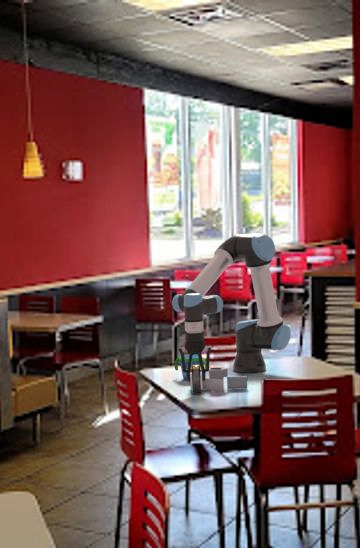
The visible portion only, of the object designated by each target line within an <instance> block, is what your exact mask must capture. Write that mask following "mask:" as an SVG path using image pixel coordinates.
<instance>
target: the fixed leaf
mask: <svg viewBox="0 0 360 548" xmlns="http://www.w3.org/2000/svg"><path fill="white" fill-rule="evenodd" d="M200 370H201V369H200ZM201 372H202V371H201ZM206 373H207V372H205V381H203V389H201V391H209V392H224V390H225V384H224V383H225V382H224V380H225V379H224V378H225V377H223V378H216V379H209V377H207V375H206Z"/></svg>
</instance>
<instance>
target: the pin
mask: <svg viewBox="0 0 360 548" xmlns="http://www.w3.org/2000/svg"><path fill="white" fill-rule="evenodd" d="M191 367H192V384H193V390H192V394H194V395H201V394H202V390H201V383H200V373H201V370H200V365H193V366H191Z"/></svg>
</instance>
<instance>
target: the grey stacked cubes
mask: <svg viewBox="0 0 360 548" xmlns="http://www.w3.org/2000/svg"><path fill="white" fill-rule="evenodd" d="M228 370H229V369H228V368H227V367H226V368H225V367H220V366H219V367H217V366H216V367H209V371H208V376H209V377H208V378H209V379H216V378H223V377H224V378H226V385H227V386H226V387H227V390H238V389H239V390H240V389H241V390H243V389H248V376H247V375H239V376H238V375H237V376H236V375H235V376H232V375H231V376H228V373H229V372H228Z"/></svg>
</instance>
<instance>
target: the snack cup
mask: <svg viewBox="0 0 360 548" xmlns="http://www.w3.org/2000/svg"><path fill="white" fill-rule="evenodd" d="M184 356H185V365H186V369H188V362H189V354H184ZM202 359H203V364H204V367H205V368H206V359H205V358H204V357H203V356H202ZM178 361H179V364H180V370H181V374H182V378H183V380H186V381H188V377H187V373H186V372H183V369H182V360H181V355H180V356H178V357H177V358H176V359H175V362H174V370H175V371H178V370H179V366H178ZM193 365H200V361H199V357H198V355H196V354H195V355H193V356H192V364H191V366H193ZM200 367H201V366H200Z"/></svg>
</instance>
